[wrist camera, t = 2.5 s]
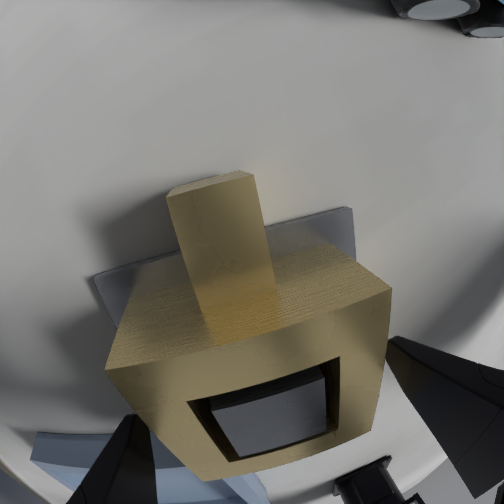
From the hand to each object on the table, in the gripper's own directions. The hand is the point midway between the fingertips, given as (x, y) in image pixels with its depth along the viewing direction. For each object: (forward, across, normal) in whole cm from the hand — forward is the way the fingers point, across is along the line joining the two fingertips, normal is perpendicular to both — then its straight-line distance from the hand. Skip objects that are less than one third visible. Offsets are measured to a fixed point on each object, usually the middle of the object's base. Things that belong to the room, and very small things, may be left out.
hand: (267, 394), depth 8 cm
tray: (+3, +9, +11) cm, 14 cm away
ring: (+2, 0, -2) cm, 3 cm away
